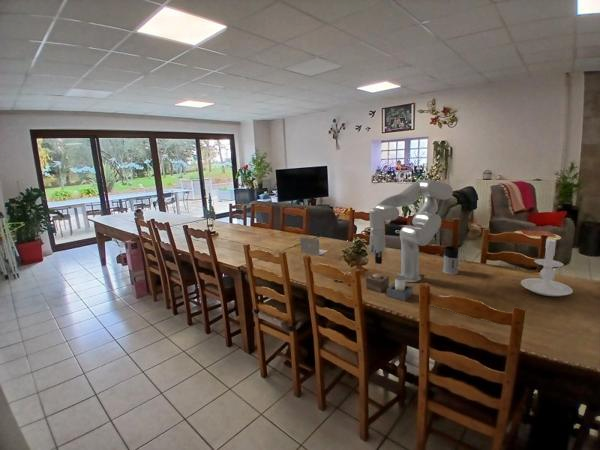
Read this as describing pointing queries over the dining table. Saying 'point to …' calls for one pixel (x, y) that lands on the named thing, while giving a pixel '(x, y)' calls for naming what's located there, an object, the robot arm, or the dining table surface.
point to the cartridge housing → (400, 292)
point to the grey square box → (377, 283)
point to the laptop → (311, 246)
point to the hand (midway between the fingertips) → (378, 263)
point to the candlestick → (547, 275)
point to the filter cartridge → (400, 283)
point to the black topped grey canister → (451, 260)
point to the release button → (377, 276)
